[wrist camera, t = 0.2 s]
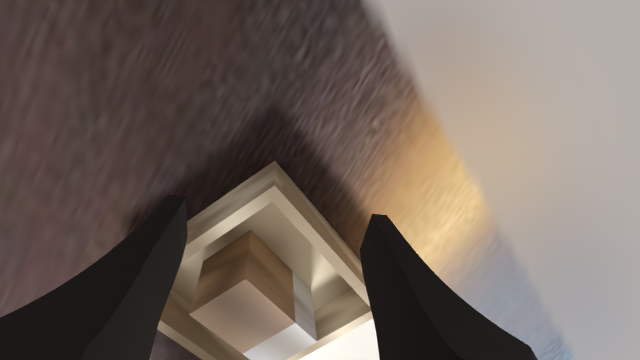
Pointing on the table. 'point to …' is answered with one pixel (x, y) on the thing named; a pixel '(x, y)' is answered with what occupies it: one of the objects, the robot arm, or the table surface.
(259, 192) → the birch crate
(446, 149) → the table surface
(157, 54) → the table surface
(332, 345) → the ceramic trivet
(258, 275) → the walnut block
